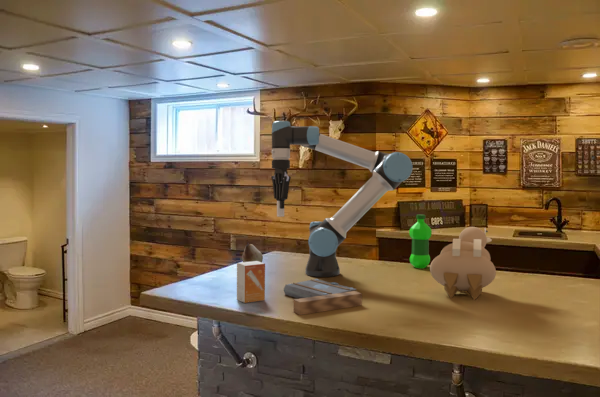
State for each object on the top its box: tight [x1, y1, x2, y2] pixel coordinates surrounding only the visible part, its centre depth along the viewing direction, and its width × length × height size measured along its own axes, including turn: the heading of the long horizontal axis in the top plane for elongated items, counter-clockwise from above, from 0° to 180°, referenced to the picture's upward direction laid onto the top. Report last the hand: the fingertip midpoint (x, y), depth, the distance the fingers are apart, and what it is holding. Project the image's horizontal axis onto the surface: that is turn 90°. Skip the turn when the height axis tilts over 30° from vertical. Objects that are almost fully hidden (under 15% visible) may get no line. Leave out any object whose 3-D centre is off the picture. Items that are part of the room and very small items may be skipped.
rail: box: [293, 290, 363, 316], centre depth 160 cm, size 24×4×4 cm, turn 120°
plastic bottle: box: [408, 214, 432, 269], centre depth 231 cm, size 10×10×25 cm
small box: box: [236, 261, 266, 304], centre depth 170 cm, size 8×6×13 cm
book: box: [283, 278, 358, 299], centre depth 175 cm, size 21×16×5 cm
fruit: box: [242, 241, 264, 263], centre depth 227 cm, size 10×9×12 cm
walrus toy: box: [429, 226, 497, 301], centre depth 179 cm, size 30×28×23 cm
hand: (280, 216), depth 202 cm, fingers closed
